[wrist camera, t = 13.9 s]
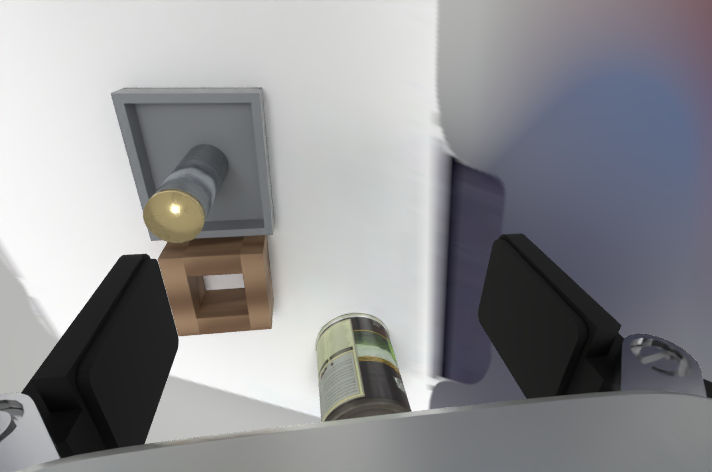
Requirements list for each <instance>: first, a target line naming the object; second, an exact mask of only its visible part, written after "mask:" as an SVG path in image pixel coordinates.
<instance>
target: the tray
mask: <svg viewBox="0 0 712 472" xmlns="http://www.w3.org/2000/svg"><path fill="white" fill-rule="evenodd" d="M111 96H112V100H113V104H114V107H115V111H116V115H117V118H118V122H119V126H120V129H121V133H122V137H123V140H124V144H125V147H126V151H127V155H128V158H129V162H130V166H131V169H132V173H133V177H134V180H135V184H136V188H137V191H138V195H139V199H140V202H141V206H142V210H143V211H144V207H145V205H146V203H147V202H148V201H149V200H150V198H151V197H152V196H153V195H154V193H155V192H156V191H157V190H158V188H159V187H160V186H161V185H162V184H163V182H164V181H165V180H166V179H167V177H168V176H169V175H170V174H171V173H172V171H173V170H174V169H175V168H176V166H177V165H178V164H179V163H180V161H181V160H182V159H183V158H184V157H185V155H186V154H187V153H188V152H189V150H190V149H191V148H193V147H194V146H196V145H200V144H209V145H212V146H215V147H217V148H218V149H220V150H221V151H222V152H223V153H224V155H225V156H226V158H227V160H228V166H229V167H228V172H227V174H226V177H225V179H224V181H223V183H222V186H221V188H220V190H219V192H218V194H217V197H216V199H215V201H214V203H213V205H212V208H211V210H210V212H209V214H208V216H207V219H206V221H205V223H204V225H203V227H202V230H201V232H200V233H199V234H198V236H196V237H195V238H215V237H235V236H255V235H273V230H274V213H273V202H272V192H271V181H270V170H269V159H268V149H267V138H266V127H265V116H264V106H263V95H262V88H123V89H120V90H118V91H116V92H113V93H111ZM147 228H148V227H147ZM148 232H149V235H150V239H151V241H155V240H162V239H160V238H158V237H157V236H155V235H154V234H153V233H152V232H151V231H150V230H149V229H148ZM195 238H194V239H195Z"/></svg>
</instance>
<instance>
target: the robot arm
mask: <svg viewBox="0 0 712 472" xmlns="http://www.w3.org/2000/svg"><path fill="white" fill-rule="evenodd" d="M478 318H479V322H480V324H481V325H482V327H483V329H484V330H485V332H486V334H487V335H488V337H489V338H490V340H491V342H492V343H493V345H494V346H495V348H496V350H497V351H498V353H499V355H500V356H501V358H502V359H503V361H504V363H505V364H506V366H507V367H508V369H509V371H510V372H511V374H512V376H513V377H514V379H515V381H516V382H517V384H518V385H519V387H520V389H521V390H522V392H523V394H524V395H525V397H526V398H527V399H522V400H513V401H505V402H495V403H485V404H476V405H467V406H458V407H449V408H441V409H431V410H422V411H413V412H405V413H396V414H387V415H378V416H370V417H361V418H352V419H344V420H335V421H327V422H318V423H311V424H310V423H309V424H301V425H293V426H285V427H276V428H268V429H260V430H251V431H244V432H235V433H227V434H218V435H210V436H202V437H194V438H187V439H179V440H172V441H165V442H157V443H150V444H145V441H146V438H147V435H148V432H149V429H150V426H151V424H152V421H153V418H154V415H155V412H156V409H157V406H158V403H159V401H160V398H161V395H162V392H163V389H164V387H165V384H166V381H167V378H168V375H169V372H170V369H171V367H172V364H173V361H174V358H175V355H176V352H177V349H178V334H177V330H176V326H175V323H174V319H173V315H172V312H171V308H170V304H169V301H168V297H167V293H166V290H165V286H164V282H163V279H162V275H161V271H160V268H159V264H158V261H157V260H156V259H150V257H149V255H147V254H135V255H122V256H121V257H120V258H119V259H118V261H117V262H116V264H115V265H114V266H113V268H112V269H111V270H110V272H109V273H108V275H107V276H106V277H105V279H104V280H103V281H102V283H101V284H100V286H99V287H98V288H97V290H96V291H95V292H94V294H93V295H92V297H91V298H90V299H89V301H88V302H87V303H86V305H85V306H84V307H83V309H82V310H81V312H80V313H79V314H78V315H77V317H76V318H75V320H74V321H73V322H72V324H71V325H70V326H69V328H68V329H67V331H66V332H65V333H64V335H63V336H62V337H61V339H60V340H59V342H58V343H57V344H56V346H55V347H54V349H53V350H52V351H51V353H50V354H49V356H48V357H47V358H46V359H45V361H44V362H43V364H42V365H41V366H40V368H39V369H38V370H37V372H36V373H35V374H34V376H33V377H32V379H31V380H30V381H29V383H28V384H27V386H26V387H25V388H24V390H23V391H22V392H21V393H5V394H1V395H0V472H712V382H710V381H707V380H705V379H703V376H702V371H701V368H700V366H699V364H698V362H697V361H696V360H695V359H694V358H693V357H692V356H691V355H690V354H689V353H687V352H686V351H685V350H684V349H682V348H681V347H679V346H677V345H676V344H674V343H672V342H670V341H668V340H665V339H663V338H660V337H657V336H653V335H649V334H640V333H636V334H631V335H628V336H627V337H625V338H623V337H622V336H621V335H620V334H619V333H618V332H619V330H620V327H621V325H620V324H619V323H618V322H617V321H616V320H615V319H614V318H613V317H612V316H611V315H610V314H609V313H607V312H606V311H605V310H604V309H603V308H602V307H601V306H600V305H599V304H598V303H597V302H596V301H595V300H594V299H592V298H591V297H590V296H589V295H588V294H587V293H586V292H585V291H584V290H583V289H582V288H581V287H579V285H577V284H576V283H575V282H574V281H573V280H572V279H571V278H570V277H569V276H568V275H567V274H566V273H565V272H564V271H562V270H561V269H560V268H559V267H558V266H557V265H556V264H555V263H554V262H553V261H552V260H551V259H550V258H548V257H547V256H546V255H545V254H544V253H543V252H542V251H541V250H540V249H539V248H538V247H537V246H536V245H535V244H533V243H532V242H531V241H530V240H529V239H528V238H527V237H526V236H525V235H523V234H503V235H501V236H500V237H499V239H498V240H495V241H494V243H493V246H492V251H491V255H490V260H489V264H488V269H487V274H486V278H485V283H484V287H483V292H482V296H481V301H480V305H479V310H478Z"/></svg>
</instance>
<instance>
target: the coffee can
mask: <svg viewBox="0 0 712 472" xmlns="http://www.w3.org/2000/svg"><path fill="white" fill-rule="evenodd" d="M316 351H317V362H318V377H319V393H320V409H321V422H327V421H335V420H344V419H352V418H361V417H370V416H378V415H387V414H396V413H405V412H411V409H410V405H409V402H408V398H407V395H406V392H405V389H404V385H403V382H402V379H401V375H400V372H399V369H398V365H397V362H396V359H395V355H394V352H393V348H392V345H391V342H390V338H389V333H388V330H387V328H386V326H385V325H384V324H383V323H382V322H381V321H380V320H379V319H377V318H375V317H373V316H370V315H367V314H360V313H354V314H346V315H343V316H340V317H337V318H335V319H333V320H332V321H330V322H329V323H327V324H326V325H325V326H324V327H323V328H322V329H321V331H320V332H319V334H318V336H317V339H316Z"/></svg>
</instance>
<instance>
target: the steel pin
mask: <svg viewBox="0 0 712 472" xmlns="http://www.w3.org/2000/svg"><path fill="white" fill-rule="evenodd" d="M228 167H229V166H228V160H227V158H226V156H225V155H224V153H223V152H222V151H221V150H220V149H218V148H217V147H215V146H212V145H209V144H200V145H196V146H194V147H193V148H191V149H190V150H189V152H188V153H187V154H186V155H185V157H184V158H183V159H182V160H181V161H180V163H179V164H178V165H177V166H176V168H175V169H174V170H173V171H172V173H171V174H170V175H169V176H168V177H167V179H166V180H165V181H164V182H163V184H162V185H161V186H160V187H159V188H158V190H157V191H156V192H155V193H154V195H153V196H152V197H151V198H150V200H149V201H148V202H147V203H146V205H145V207H144V211H143V218H144V221H145V224H146V226H147V227H148V229H149V230H150V231H151V232H152V233H153V234H154V235H155V236H157V237H158V238H160V239H162V240H164V241H167V242H171V243H184V242H188V241H190V240H192V239H194V238H195V237H196V236H198V234H199V233H200V232H201V230H202V227H203V225H204V223H205V221H206V219H207V216H208V214H209V212H210V210H211V208H212V205H213V203H214V201H215V199H216V197H217V194H218V192H219V190H220V188H221V186H222V183H223V181H224V179H225V177H226V174H227V172H228Z"/></svg>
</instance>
